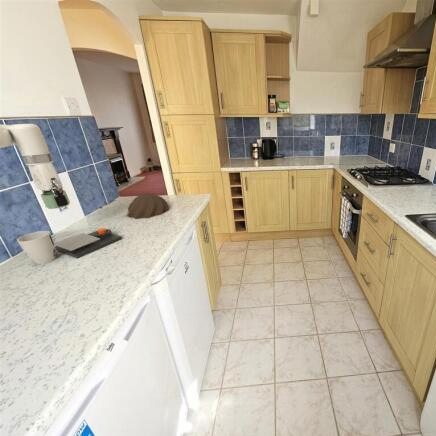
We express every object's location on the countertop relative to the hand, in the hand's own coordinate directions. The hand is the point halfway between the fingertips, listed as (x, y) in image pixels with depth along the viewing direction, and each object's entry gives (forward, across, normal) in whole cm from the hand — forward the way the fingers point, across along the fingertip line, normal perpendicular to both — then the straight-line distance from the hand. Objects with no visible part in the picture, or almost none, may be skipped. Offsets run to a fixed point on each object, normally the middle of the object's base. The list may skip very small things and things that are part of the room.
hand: (58, 203), depth 97 cm
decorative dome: (+16, +2, +34) cm, 38 cm away
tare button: (+13, +13, +6) cm, 19 cm away
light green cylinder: (+1, 0, 0) cm, 1 cm away
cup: (+16, +11, -13) cm, 24 cm away
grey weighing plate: (+13, +13, -3) cm, 19 cm away
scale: (+16, +13, 0) cm, 20 cm away
